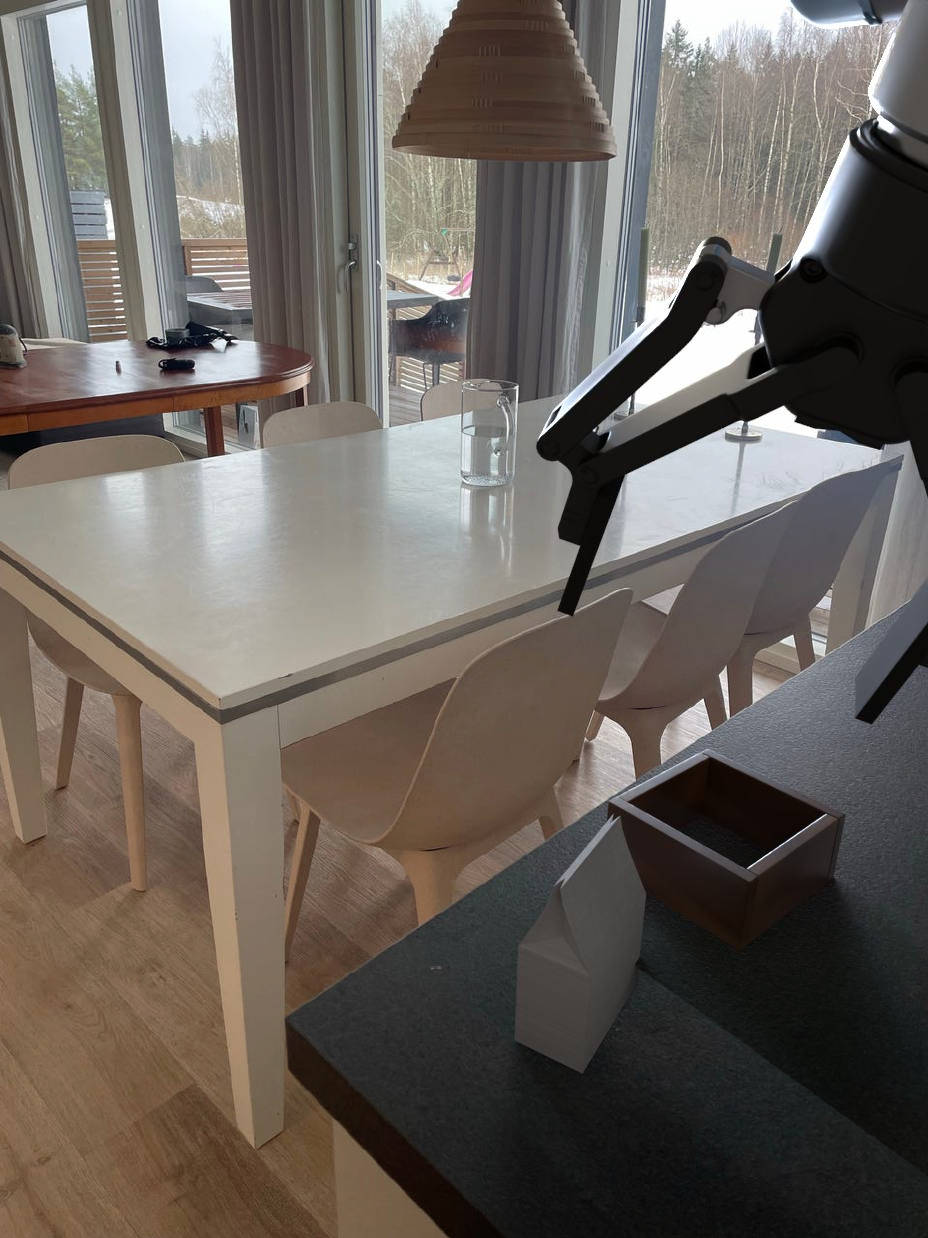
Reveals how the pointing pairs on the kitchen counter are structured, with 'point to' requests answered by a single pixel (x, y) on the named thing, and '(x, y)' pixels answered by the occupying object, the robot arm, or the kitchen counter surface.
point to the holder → (709, 881)
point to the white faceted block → (582, 953)
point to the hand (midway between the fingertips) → (714, 647)
